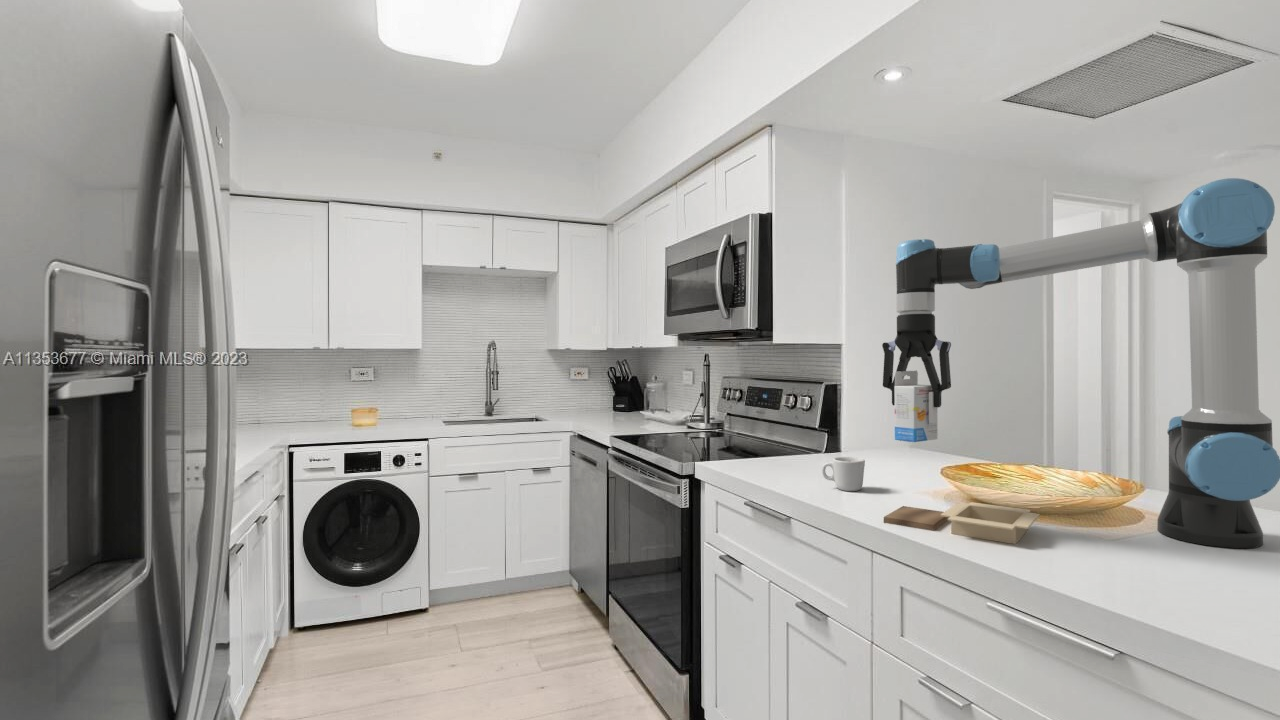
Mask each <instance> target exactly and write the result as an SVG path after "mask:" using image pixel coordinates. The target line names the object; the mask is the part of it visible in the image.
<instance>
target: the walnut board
mask: <svg viewBox="0 0 1280 720" xmlns="http://www.w3.org/2000/svg"><path fill="white" fill-rule="evenodd" d="M944 512H945V511H941V510H934V509H927V508H918V507H912V506H904V505H902V506H901V507H899V508H897V509H895V510H893V511H892V512H890V513H887V515H884V516H883V523H884V524H891V525H897V526H902V527H903V526H904V527H910V528H916V529H921V530H928V531H935V530H937V529H938V528H939V527H941V526H942V525H943V524H945V523H946V522H947V521H949V520H948V518H949V517H944V516H941V514H942V513H944Z"/></svg>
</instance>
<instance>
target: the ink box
mask: <svg viewBox="0 0 1280 720" xmlns="http://www.w3.org/2000/svg"><path fill="white" fill-rule="evenodd" d="M894 373H895V374H894V377H895V386H894V392H895V405H894V440H895V441H900V442H909V443H911V442H912V443H918V442H919V443H920V442H926V441H932V440H933V441H935V440H938V421H937V422H936V423H933V424H931V423H929V392H932V387H931V384H919V383H918V381H919V380H918V379H919V378H918V376H919V372H918V370H906V371H903V372H902V371H895V372H894ZM903 376H904V377H906V376H907V377H909V378H904V379H903ZM936 411H937V412H938V407H936Z"/></svg>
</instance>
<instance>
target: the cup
mask: <svg viewBox="0 0 1280 720" xmlns="http://www.w3.org/2000/svg"><path fill="white" fill-rule="evenodd" d="M865 462H866V461H865V458H862V457H855V456H838V457H833V459H832V461H828V462H825V463H824V464H823V465H822V469H821V474H822V476H823V478H824V479H825V480H827V481H833V482H835V487H836V488H837V489H839V490H840V491H845V492H857V491H860V490H862V488H863V485H864V484H863V483H864V473H865V465H866V464H865ZM827 467H830V468H831V469H832V475H831V476H828V475H827V474H826V473H827V471H826V469H827Z"/></svg>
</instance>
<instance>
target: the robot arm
mask: <svg viewBox="0 0 1280 720" xmlns="http://www.w3.org/2000/svg"><path fill="white" fill-rule="evenodd" d="M1275 209H1276V206H1275V202H1274V200H1273V197H1272V195H1271V194H1270V192H1269V190H1267V189H1266V188H1264V186H1262V185H1260V184H1258V183H1256V182H1254V181H1252V180H1248V179H1244V178H1238V177H1237V178H1236V177H1231V178H1230V177H1229V178H1221V179H1217V180H1214V181H1210V182H1208V183H1206V184H1203V185H1201V186H1199V187H1196V188H1195V189H1194V190H1192V191H1191V192H1190V193H1189V194H1187V196H1186V197H1185V198H1184V199H1183V201H1181V203H1179V204H1177V205H1174V206H1171V207H1169V208H1166V209H1163V210H1158V211H1153V212H1149V213H1145V215H1144V216H1143V217H1142V218H1141V219H1139V220H1135V221H1130V222H1126V223H1125V222H1124V223H1119V224H1115V225H1109V226H1105V227H1100V228H1094V229H1090V230H1089V229H1088V230H1085V231H1080V232H1073V233H1069V234H1065V235H1060V236H1059V235H1058V236H1054V237H1048V238H1044V239H1038V240H1033V241H1030V242H1029V241H1027V242H1023V243H1018V244H1013V245H1008V246H1003V247H999V246H998V245H997V244H995V243H994V244H993V243H992V244H982V243H978V244H975V245H973V244H972V245H965V246H964V245H963V246H956V247H955V246H954V247H953V246H952V247H945V248H939V247H937V246H935V245H936V244H935V241H934V240H932V239H929V238H928V239H927V238H926V239H925V238H922V239H910V240H905V241H904V240H903V241H902V242H900V243H899V244H898V245H897V248H896V261H895V270H896V271H895V273H896V312H897V313H899V314H898V315H897V316H896V336H895V338H894V340H892V341H889V342H883V343H882V344H881V345H882V350H883V353H884V355H883V357H884V358H883V370H882V371H883V372H882V386H883V388H886V389H889V390H890V391H891V404H892V406H895V392H894V386H895V376H894V361H895V359H894V358H895V354H894V351H895V350H896V347H897V348H898V349H899V351H900V352H901V353H900V355H899V359H898V360H899V361H898V364H897V368H896V371H902V372H903V371H907V368H908V365H909V363H910V361H911V359H912V358H921V361H922V363H923V365H924V369H925V372H926V374H927V377H928V380H929V383H930V384H929V385H931V387H932V392H929V423H931V424H933V423H936V422H937V423H938V410H937V411H936V407H937V408H941V406H942V392H943V391H945V390H949V389H950V388H951V387H952V379H951V366H950V349H951V347H952V342H951V341H944V340H940V339H938V337H937V336H936V315H935V314H933V312H935V309H936V307H935V306H936V293H935V291H936V290H935V288H936V287H935V286H936V285H947V284H948V285H950V284H953V285H955V284H959V285H960V286H962V287H963V288H965V289H970V290H975V289H981V288H983V287H986V286H990V285H997V284H1000V283H1006V282H1011V281H1012V282H1013V281H1019V280H1024V279H1031V278H1036V277H1042V276H1047V275H1048V276H1049V275H1053V274H1059V273H1065V272H1066V273H1067V272H1071V271H1077V270H1084V269H1090V268H1095V267H1101V266H1108V265H1112V264H1114V265H1115V264H1120V263H1124V262H1125V263H1126V262H1131V261H1137V260H1141V259H1142V260H1143V259H1147V260H1149V261H1150V262H1153V263H1157V262H1161V261H1162V262H1163V261H1170V260H1176V266H1177V267H1179V268H1180V269H1182V270H1183V271H1184V272H1186V274H1187V275H1188V279H1187V280H1188V305H1189V306H1188V308H1189V309H1188V310H1189V342H1190V343H1189V345H1190V346H1189V349H1190V382H1191V409H1190V410H1188V412H1186V413H1185V414H1184V415H1177V416H1173V417H1172V418H1170V419H1169V422H1168V429H1167V431H1166V432H1167V435H1168V493H1167V496H1166V498H1165V501H1164V503H1163V506H1162V507H1161V510H1160V512H1159V514H1158V518H1157V525H1156V527H1157V529H1156V530H1157V532H1159V533H1160V534H1161V535H1164V536H1166V537H1169V538H1172V539H1175V540H1180V541H1183V542H1189V543H1193V544H1198V545H1203V546H1204V545H1205V546H1210V547H1221V548H1231V549H1250V548H1251V549H1253V548H1258V547H1259V548H1260V547H1263V544H1264V533H1263V530H1262V527H1261V525H1260V521H1259V519H1258V517H1257V515H1256V513H1255V511H1254V508H1253V506H1252V503H1251V500H1254V499H1257V498H1260V497H1262V496H1264V495H1266V494H1268V493H1270V492H1271V491H1272V490H1273V489H1274V488H1275V487H1276V486H1277V485H1278V483H1279V481H1280V456H1279V454H1278V452H1277V450H1276V449H1275V448H1274V447H1273V421H1272V418H1270V417H1268V416H1267V415H1266V414H1264V413H1263V412H1261V410H1260V409H1259V407H1260V403H1259V402H1260V401H1259V400H1260V399H1259V373H1258V371H1259V370H1258V369H1259V368H1258V367H1259V365H1258V364H1259V363H1258V335H1257V333H1258V331H1257V329H1258V327H1257V326H1258V325H1257V323H1258V322H1257V296H1256V290H1257V289H1256V288H1257V287H1256V269H1257V266H1259V265H1260V264H1261V263H1262V262H1264V260H1266V259H1267V258H1268V230H1269V228H1270V227H1271V225H1272V222H1273V220H1274V216H1275V214H1276V213H1275V211H1276V210H1275ZM935 347H937V350H938V354H939V355H938V356H939V358H938V359H939V369H940V378H939V375H938V372H937V369H936V367H935V364H934V361H933V356H932V351H933V349H934V348H935ZM896 371H895V372H896ZM903 379H905V376H903Z"/></svg>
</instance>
